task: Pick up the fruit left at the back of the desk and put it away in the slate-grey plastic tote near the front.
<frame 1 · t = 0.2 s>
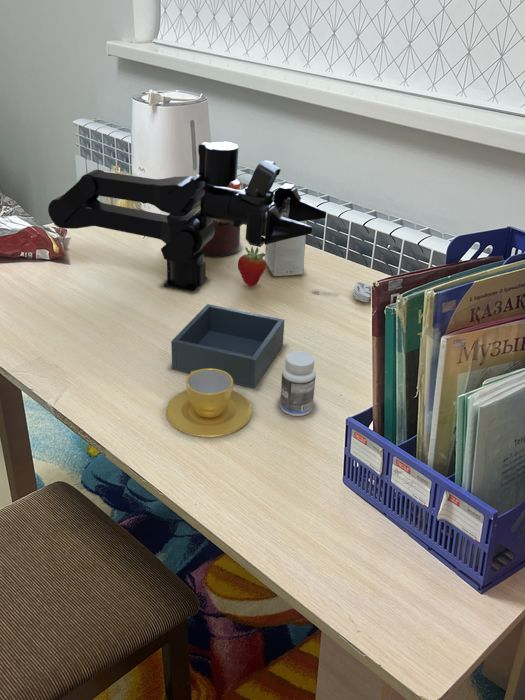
hand: (319, 222, 118), 16 cm above the table, tool horizontal, fingers open, 9 cm apart
small box: (283, 268, 142), on the table
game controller: (346, 296, 132), on the table
fruit: (251, 287, 133), on the table
vase: (214, 248, 149), on the table
pill bottle: (296, 408, 99), on the table
cup: (209, 413, 98), on the table
tote: (229, 357, 111), on the table
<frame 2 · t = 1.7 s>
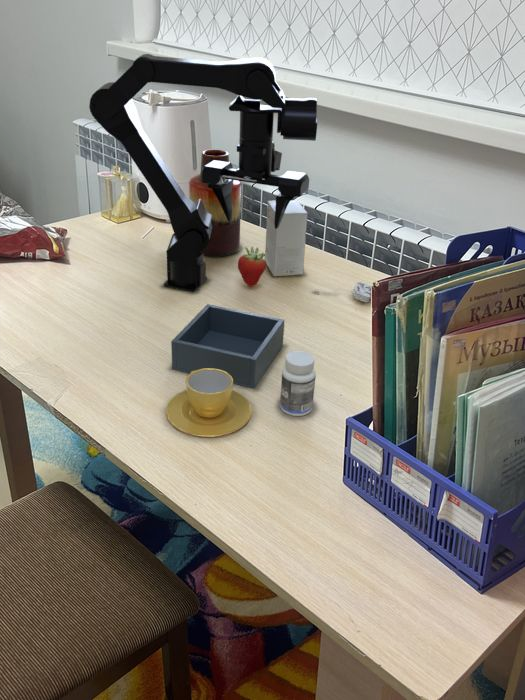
hand: (253, 224, 127), 13 cm above the table, tool pointing down, fingers open, 9 cm apart
nothing on the table moved.
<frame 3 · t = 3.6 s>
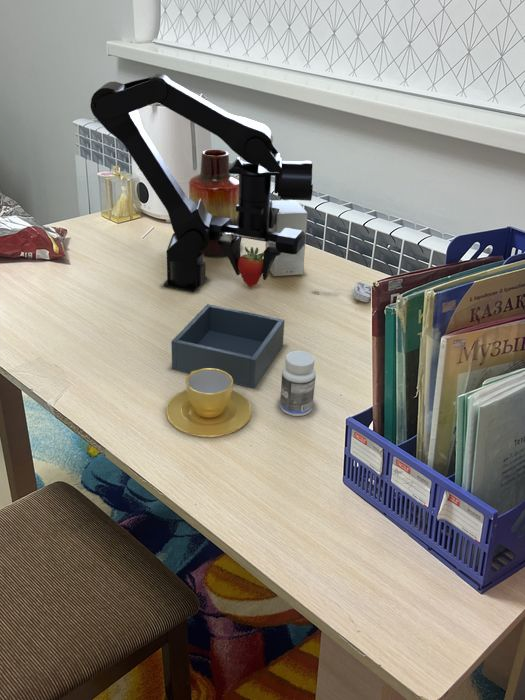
hand: (251, 276, 132), 2 cm above the table, tool pointing down, fingers closed on fruit, 5 cm apart
fruit: (251, 287, 133), on the table, touching gripper
everything else where it was.
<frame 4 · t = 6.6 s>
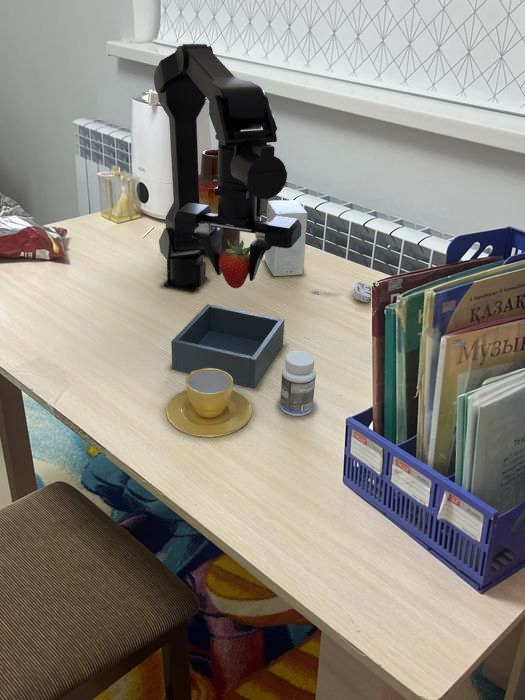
hand: (235, 277, 108), 12 cm above the table, tool pointing down, fingers closed on fruit, 5 cm apart
fruit: (235, 289, 109), point 10 cm above the table, touching gripper
everything else where it was.
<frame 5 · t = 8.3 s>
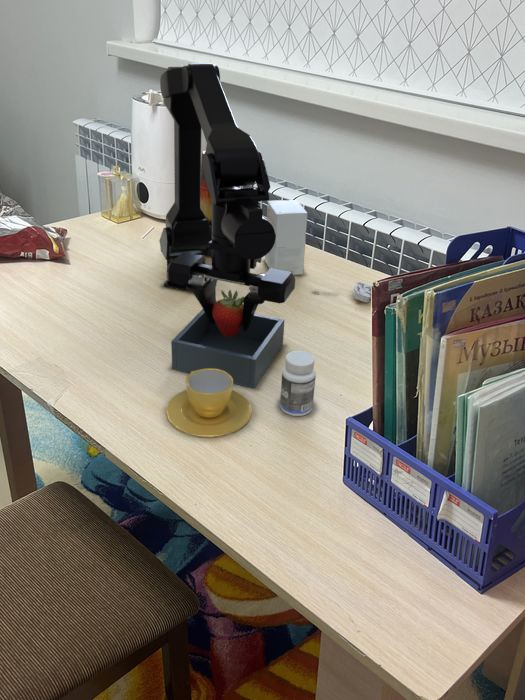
hand: (229, 326, 108), 6 cm above the table, tool pointing down, fingers closed on fruit, 5 cm apart
fruit: (229, 338, 109), point 3 cm above the table, touching gripper
everything else where it was.
when the fingers open (2 cm above the table, at t = 9.7 s): fruit stays where it is, resting on tote.
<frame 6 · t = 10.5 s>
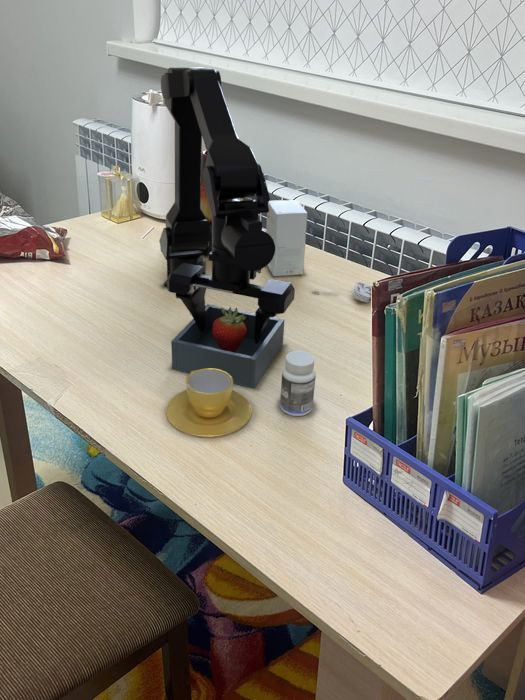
hand: (229, 336, 109), 4 cm above the table, tool pointing down, fingers open, 9 cm apart
fruit: (229, 355, 111), resting on tote
everything else where it was.
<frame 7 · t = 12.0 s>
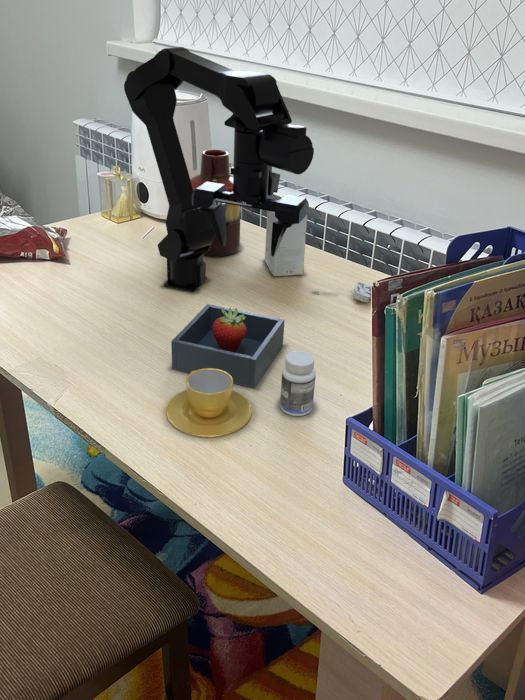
hand: (248, 250, 118), 12 cm above the table, tool pointing down, fingers open, 9 cm apart
nothing on the table moved.
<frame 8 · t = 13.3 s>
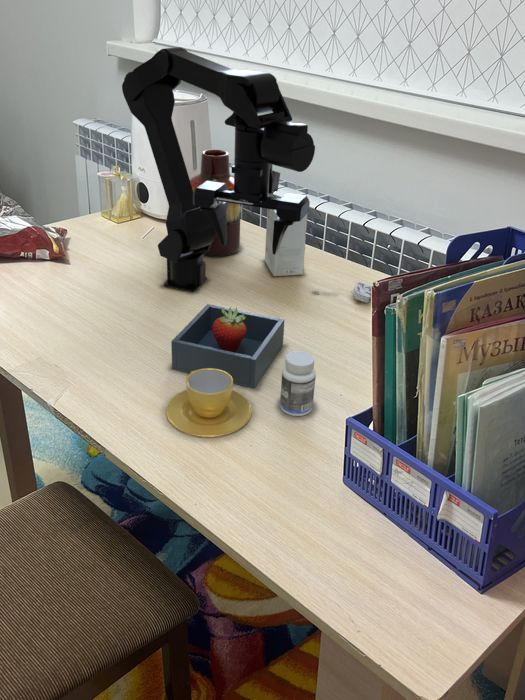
hand: (249, 249, 118), 12 cm above the table, tool pointing down, fingers open, 9 cm apart
nothing on the table moved.
at the end: fruit inside the target area in the tote (0.2 cm from its centre), point 0.3 cm above the tote's base; the gripper is holding nothing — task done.
